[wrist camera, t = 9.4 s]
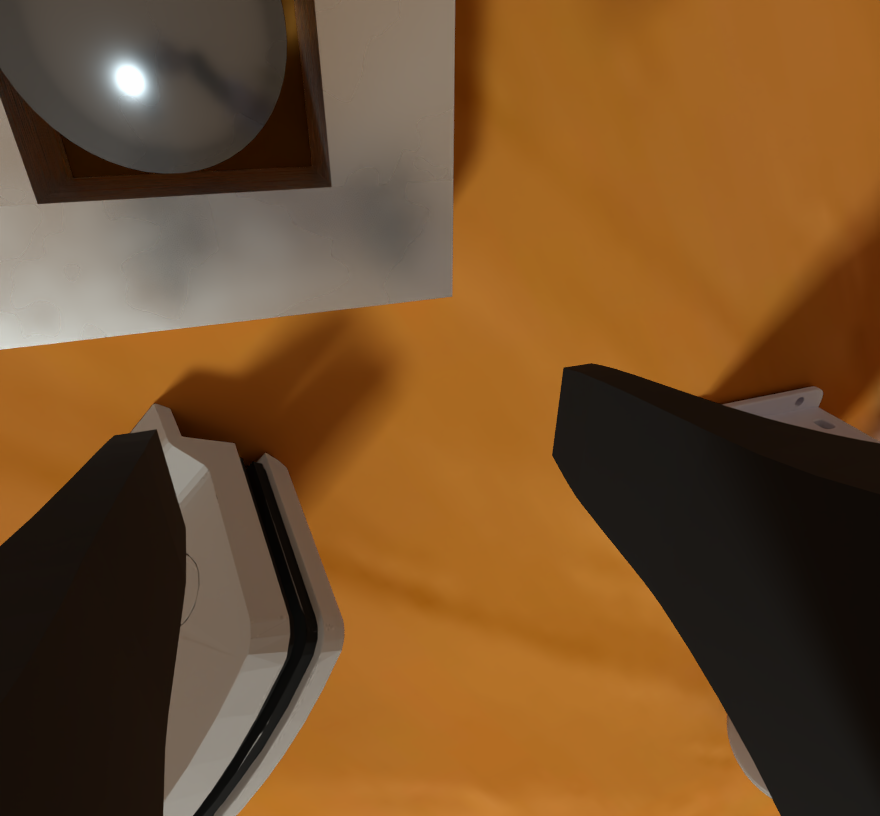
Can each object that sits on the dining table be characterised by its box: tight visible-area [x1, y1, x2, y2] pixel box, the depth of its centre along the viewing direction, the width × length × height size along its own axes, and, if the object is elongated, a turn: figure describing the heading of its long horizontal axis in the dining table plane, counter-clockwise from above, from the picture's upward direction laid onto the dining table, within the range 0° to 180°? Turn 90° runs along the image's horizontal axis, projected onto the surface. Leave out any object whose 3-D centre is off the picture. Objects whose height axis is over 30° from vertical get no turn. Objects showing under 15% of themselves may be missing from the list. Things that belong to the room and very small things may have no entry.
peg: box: [0, 0, 287, 174], centre depth 11 cm, size 4×4×7 cm
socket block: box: [0, 0, 455, 350], centre depth 12 cm, size 12×12×4 cm
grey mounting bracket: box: [131, 403, 344, 816], centre depth 18 cm, size 17×5×10 cm, turn 135°
